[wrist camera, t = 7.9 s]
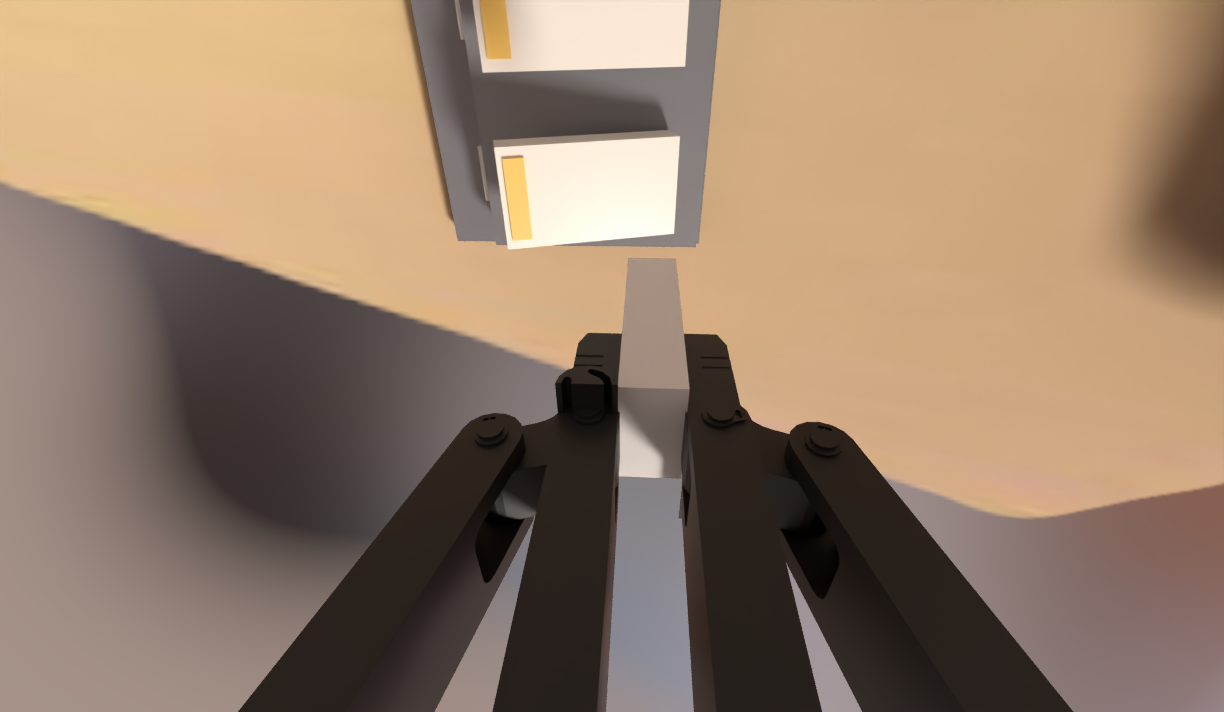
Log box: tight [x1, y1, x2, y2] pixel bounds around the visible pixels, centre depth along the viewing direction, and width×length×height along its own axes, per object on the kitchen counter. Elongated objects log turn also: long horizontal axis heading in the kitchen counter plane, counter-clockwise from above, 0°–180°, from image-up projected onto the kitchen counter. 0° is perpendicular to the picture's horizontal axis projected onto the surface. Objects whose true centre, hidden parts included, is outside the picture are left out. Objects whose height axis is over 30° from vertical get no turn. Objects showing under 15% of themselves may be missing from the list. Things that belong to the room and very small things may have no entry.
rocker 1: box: [473, 0, 689, 73], centre depth 21 cm, size 9×5×2 cm, turn 91°
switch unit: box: [410, 0, 721, 247], centre depth 25 cm, size 16×26×6 cm, turn 1°
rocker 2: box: [493, 130, 680, 249], centre depth 26 cm, size 9×5×2 cm, turn 91°
